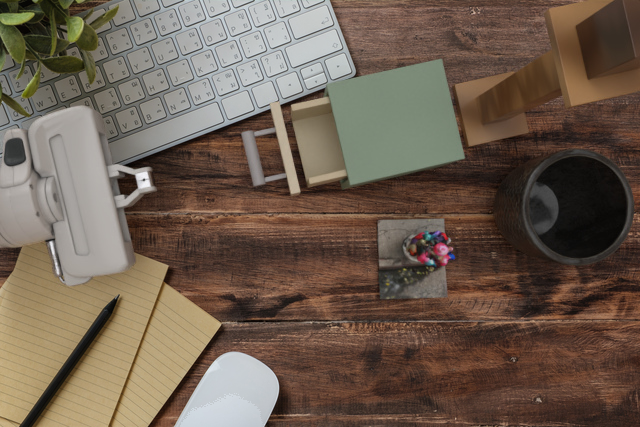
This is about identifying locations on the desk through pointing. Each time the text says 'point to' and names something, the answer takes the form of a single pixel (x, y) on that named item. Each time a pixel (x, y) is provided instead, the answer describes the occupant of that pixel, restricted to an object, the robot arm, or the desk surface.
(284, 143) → the drawer
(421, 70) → the cabinet
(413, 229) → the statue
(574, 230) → the planter
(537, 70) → the stand
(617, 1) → the pencil box
